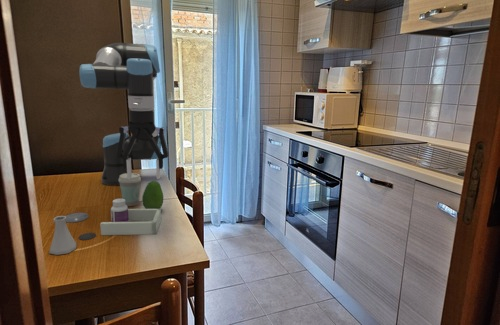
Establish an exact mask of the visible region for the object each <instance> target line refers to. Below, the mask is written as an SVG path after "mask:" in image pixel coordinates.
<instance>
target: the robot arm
mask: <svg viewBox="0 0 500 325" xmlns="http://www.w3.org/2000/svg"><path fill="white" fill-rule="evenodd" d="M95 56H96V57H95V60H94V62H93V63H85V64H84V63H82V64H81V65H79V72H78V73H79V81H80V85H81V86H82V87H83V88H85V89H86V88H89V89H93V90H94V89H111V90H113V89H115V90H116V89H117V90H127V99H128V100H127V103H128V108H129V111H128V118H129V122H128V123H129V125H128V126H120V127H119V128H118V130H119V131H118V133H111V134H107V135H105V136H104V137H103V138H102V151H103V161H104V162H103V163H104V164H103V165H104V168H103V171H102V175H101V177H100V178H101V184H103V185H106V186H120V183H119V181H118V180H119V177H120V175H121V174H125V173H127V179H130V178H131V177H132V173H134V171H133V169H132V161H140V160H141V161H142V160H143V161H147V160H149V161H151V160H155V165H156V168H155V169H156V180H160V178H161V170H162V169H163V168H164V159H166V158H168V156H169V155H170V154H169V150H168V146H167V143H166V138H165V128H164V127H158V126H156V121H155V120H156V118H155V86H154V85H155V83H154V82H155V79H156V78H157V77H158V74H159V73H161V68H160V62H159V56H158V49H157V47H156V46H154V44H153V45H152V44H146V43H131V42H129V43H128V42H127V43H126V42H113V43H109V44H107V45H105V46H102V47H101V48H100V49H99V50H98V51H97V53H96V55H95ZM128 131H129V132H130V133H131V134H132V135H130V134H129V133H128ZM161 150H162V151H161Z"/></svg>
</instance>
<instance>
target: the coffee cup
mask: <svg viewBox="0 0 500 325" xmlns="http://www.w3.org/2000/svg"><path fill="white" fill-rule="evenodd" d="M140 175H141V174H139V173H137V172H133V173H132V177H131V178H130V179H127V173H125V174H121V175H120V177H119V180H118V181H119V183H120V185H119V188H120V191H121V192H120V194H121V199H125V202H126V203H125V205H127V206H128V207H133V206H134V207H135V206H137V205H139V202H140V192H141V191H140V188H141V180H142V177H141V176H140Z"/></svg>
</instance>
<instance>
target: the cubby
mask: <svg viewBox="0 0 500 325" xmlns="http://www.w3.org/2000/svg"><path fill="white" fill-rule="evenodd" d="M128 216H129V222H112V215H111V214H110V220H111V221H101V222H100V234H101V235H100V236H124V235H125V236H128V235H139V236H140V235H157V232H158V229H159V228H160V227H159V226H160V224H161V221H162V208H160V209H145V208H128Z"/></svg>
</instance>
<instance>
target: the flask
mask: <svg viewBox="0 0 500 325" xmlns="http://www.w3.org/2000/svg"><path fill="white" fill-rule="evenodd" d="M66 216H67V215H58V216H56V217H55V216H54V217H53V219H52V220H53V222H54V226H55V227H54V233H53V237H52V242H51V244H50V248H49V251H48V254H50V255H56V256H58V255H64V254H70V253H72V252H73V251H75V250H76V249H77V244H78V243H77V242H76V240H75V239H74V238H73V236H72V234H71V232H70V230H69V228H68V226H67V222H66V221H65V220H66Z"/></svg>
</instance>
